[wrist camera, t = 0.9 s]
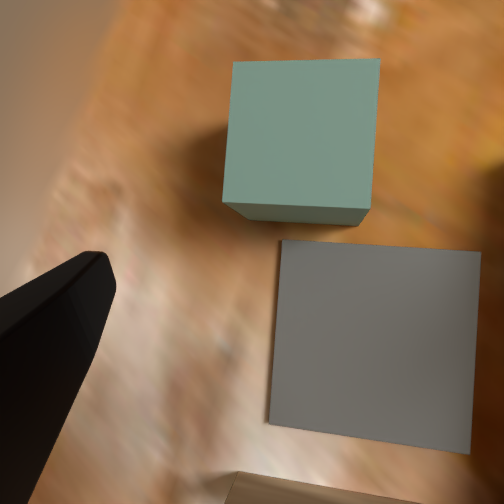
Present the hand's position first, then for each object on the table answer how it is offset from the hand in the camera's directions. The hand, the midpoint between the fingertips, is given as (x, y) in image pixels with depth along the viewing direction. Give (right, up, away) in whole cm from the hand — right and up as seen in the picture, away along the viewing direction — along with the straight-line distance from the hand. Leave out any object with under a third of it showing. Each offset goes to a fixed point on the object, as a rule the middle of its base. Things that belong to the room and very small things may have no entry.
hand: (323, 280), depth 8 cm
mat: (+5, -4, +13) cm, 14 cm away
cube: (+2, +5, +14) cm, 15 cm away
